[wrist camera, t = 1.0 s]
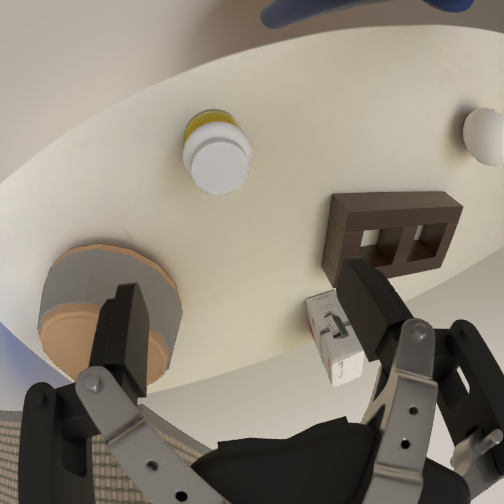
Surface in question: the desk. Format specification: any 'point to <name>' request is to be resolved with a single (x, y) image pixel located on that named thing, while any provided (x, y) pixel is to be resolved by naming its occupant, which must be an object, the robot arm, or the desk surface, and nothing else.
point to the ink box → (335, 338)
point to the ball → (485, 136)
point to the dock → (390, 231)
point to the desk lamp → (79, 350)
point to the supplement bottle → (216, 152)
